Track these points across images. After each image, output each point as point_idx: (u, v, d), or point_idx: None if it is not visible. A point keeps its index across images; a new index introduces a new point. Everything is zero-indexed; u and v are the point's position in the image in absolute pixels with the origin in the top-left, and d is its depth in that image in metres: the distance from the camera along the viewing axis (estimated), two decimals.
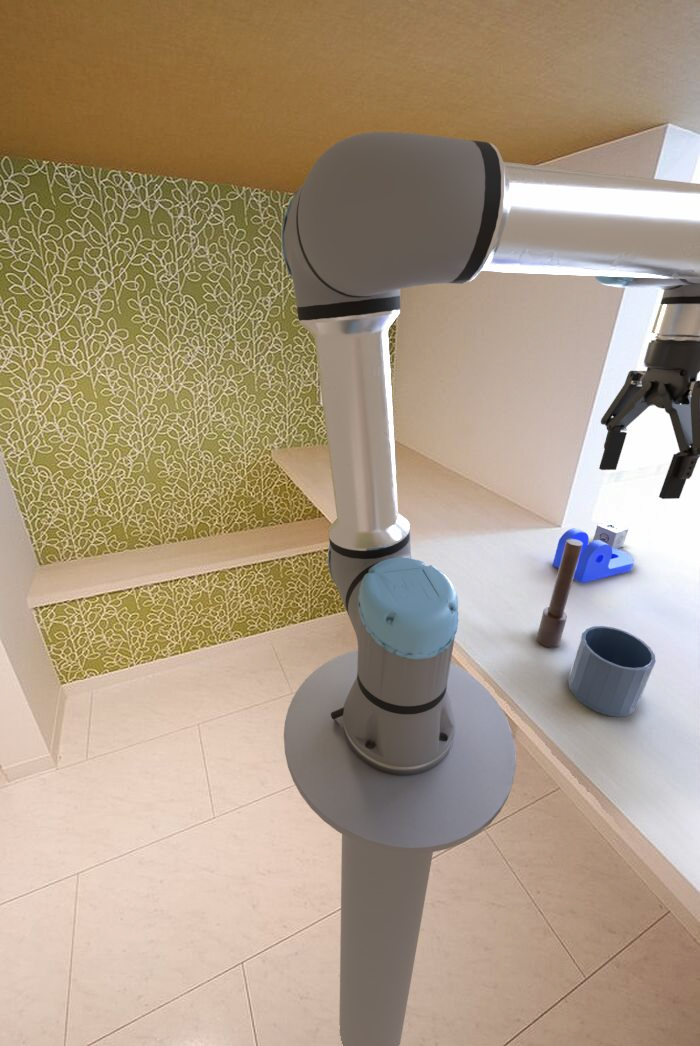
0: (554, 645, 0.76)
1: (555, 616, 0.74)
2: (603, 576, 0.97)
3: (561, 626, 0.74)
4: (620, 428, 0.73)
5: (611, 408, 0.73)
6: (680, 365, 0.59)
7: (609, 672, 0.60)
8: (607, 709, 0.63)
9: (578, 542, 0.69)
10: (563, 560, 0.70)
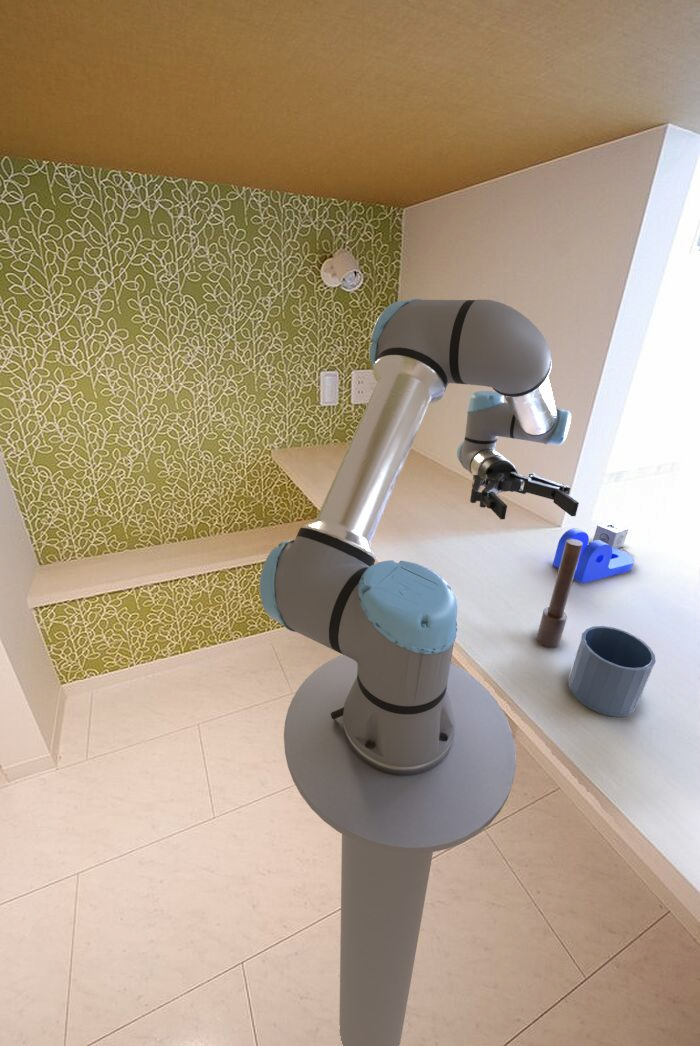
0: (554, 645, 0.76)
1: (555, 616, 0.74)
2: (603, 576, 0.97)
3: (561, 626, 0.74)
4: None
5: (475, 485, 0.87)
6: (515, 468, 0.94)
7: (609, 672, 0.60)
8: (607, 709, 0.63)
9: (578, 542, 0.69)
10: (563, 560, 0.70)
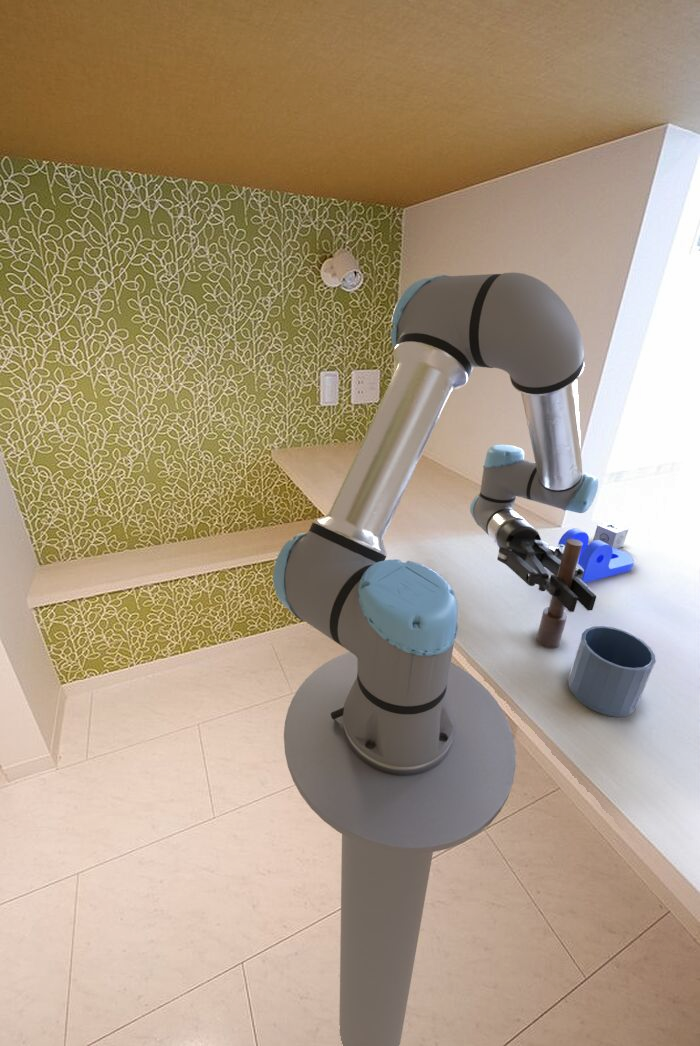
0: (554, 645, 0.76)
1: (555, 616, 0.74)
2: (603, 576, 0.97)
3: (561, 626, 0.74)
4: None
5: (524, 564, 0.76)
6: (538, 533, 0.85)
7: (609, 672, 0.60)
8: (607, 709, 0.63)
9: (578, 542, 0.69)
10: (563, 560, 0.70)
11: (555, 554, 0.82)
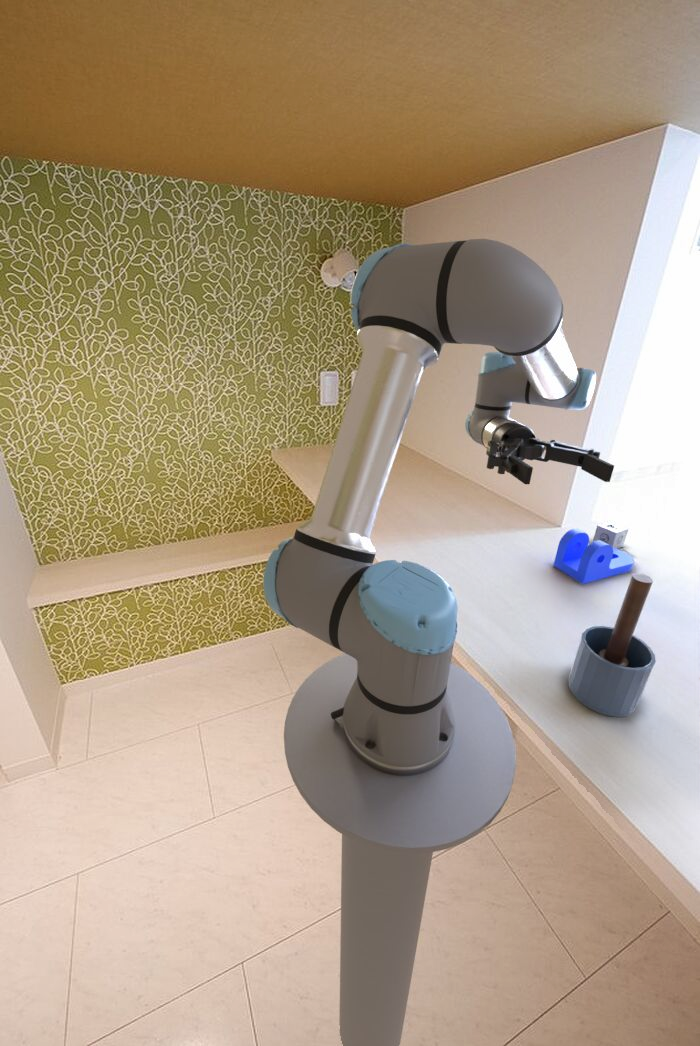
0: None
1: (614, 662, 0.63)
2: (604, 576, 0.97)
3: None
4: None
5: (492, 450, 0.76)
6: None
7: (609, 672, 0.60)
8: (607, 709, 0.63)
9: (647, 578, 0.58)
10: (628, 598, 0.59)
11: None
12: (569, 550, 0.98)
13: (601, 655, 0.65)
